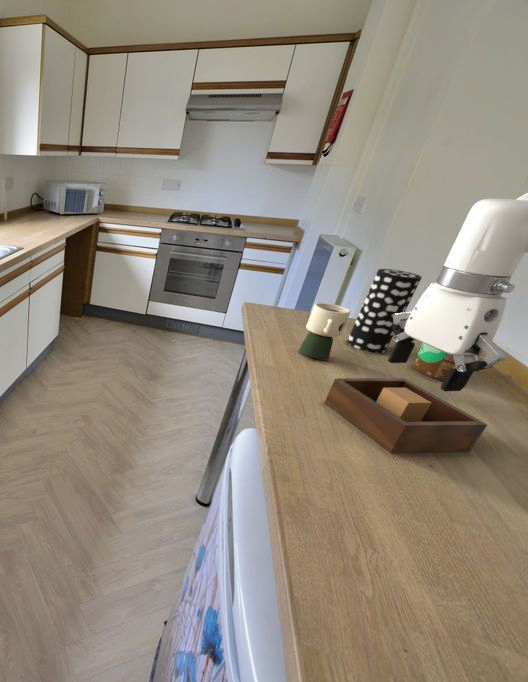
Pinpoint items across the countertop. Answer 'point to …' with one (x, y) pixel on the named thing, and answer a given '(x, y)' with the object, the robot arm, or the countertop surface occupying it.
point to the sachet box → (404, 403)
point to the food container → (433, 363)
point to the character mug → (323, 329)
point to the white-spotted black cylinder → (382, 309)
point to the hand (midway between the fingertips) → (421, 375)
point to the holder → (394, 433)
